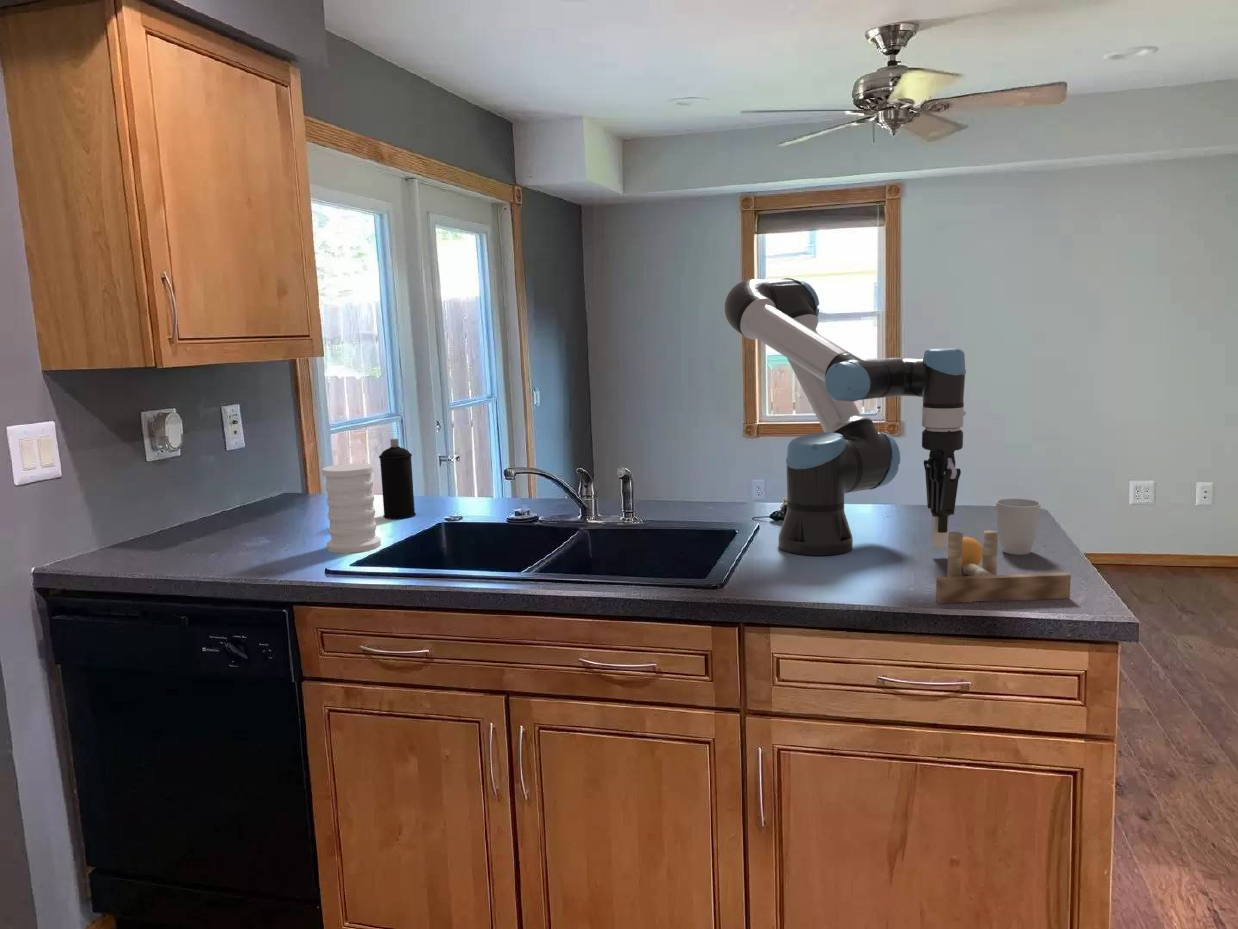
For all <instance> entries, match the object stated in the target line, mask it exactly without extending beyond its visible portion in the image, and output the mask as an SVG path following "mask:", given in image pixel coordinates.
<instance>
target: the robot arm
mask: <svg viewBox="0 0 1238 929" xmlns="http://www.w3.org/2000/svg"><path fill="white" fill-rule="evenodd" d="M818 306H820V300H819V297H818V294H817V292H816V290H815V289H814V288H813V287H812V285H810V283H808V282H806V280H805V281H804V280H801V279H797V278H789V277H787V278H786V277H785V278H781V279H778V278H777V279H775V278H774V279H771V278H761V279H760V278H748V279H745V280H743V281H740V282H738V283H737V284H736V285H734V286H733V287H732V288H731V290H730V291H729V292H728V294H727V296H726V298H725V302H724V314H725V319H726V320H727V322H728V323H729V325H730V326H731V327H732V328H733V329H734V330H735V331H736V332H737V333H739V334H741V335H742V336H744V337H745V338H747V339H749V340H758V341H760V342H762V343H763V344H764V345H766V346H768V347H769V348H771V349H772V350H774V351H775V352H777V353H779V354H780V355H782V356H783V357H785V358H786V359H787V361H788V363H789V365H790V367H791V369H792V371H793V373H794V375H795V377H796V379H797V381H798V383H799V384H800V387H801V388H802V391H803V392H804V395H805V396H806V398H807V400H808V403H809V404H810V406H811V408H812V411H813V413H814V415H815V416H816V419H817V420H818V422H819V425H820V426H821V428H822V430H823V432H817V433H807V434H804V435H800V436H797V437H795V438H793V439H792V440H791V441H790V442H789V443H788V445H787V451H786V452H787V454H786V460H785V464H786V504H787V505H786V513H785V515H784V519H783V522H782V525H781V528H780V531H779V535H778V547H779V549H780V550H782V551H784V552H787V553H792V554H798V555H805V556H833V555H840V554H844V553H848V552H849V551H852V550H853V545H854V544H853V534H852V532H851V528H850V525H849V522H848V518H847V516H846V512H845V494H847V493H855V492H861V491H867V490H868V491H869V490H875V489H878V488H881V487H883V486H884V487H885V486H886V485H888V484H889V483H891V482H892V481H893V480H894V479H895V477H896V476H897V474H898V472H899V465H900V464H901V451H900V447H899V446H898V443H897V442H896V440H895V438H893V436H891V435H890V434H886V433H885V432H882V431H880V432H879V431H878V429H877V428H876V425H875V424H874V422H873V420H872V419H871V418H870V417H865V416H863V415H862V414H861V413H860V411H859V409H858V407H857V405H856V403H855V402H857V401H863V400H872V399H881V398H892V397H893V398H894V397H919V398H920V397H922V407H921V408H922V409H921V410H922V412H921V414H922V415H921V416H922V417H921V426H922V428H924V429H923V430H922V431H921V447H922V449H924V450H927V451H929V454H928V456H929V457H928V459H923V466H924V473H925V486H926V487H925V489H926V490H925V491H926V501H927V504H926V505H927V506H926V507H927V509H929V510H930V513H931V515H932V516H931V548H932V549H935V550H936V549H948V533H949V517H950V516H951V515H954V514H955V508H956V501H957V494H958V487H959V486H958V485H959V480H960V477H961V474H962V472H961V468H956V458H955V452H956V451H960V450H962V449H963V446H964V431H963V430H962V429H961V428H963V427H964V416H966V411H965V410H964V408H965V407H964V406H965V404H964V403H965V402H964V397H965V384H966V373H967V370H966V359H965V358H966V355H965V352H964V351H963V350H962V349H960V348H954V347H953V348H947V347H946V348H927V349H926V350H925V351H924V353H923V358H910V357H909V358H908V357H898V356H897V357H896V356H895V357H883V358H879V359H873V360H872V359H871V360H870V359H869V360H867V359H866V360H864V359H861V358H860V357H858V356H856V355H854V354H853V353H852V352H849V351H847V350H846V349H845V348H842V347H841V346H840V345H838V344H836V343H834V342H833V341H831V340H829V339H827V338H826V337H824V336H822V334H820V333H818V331H817V327H818V325H819V313H820V308H819V307H818Z"/></svg>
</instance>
